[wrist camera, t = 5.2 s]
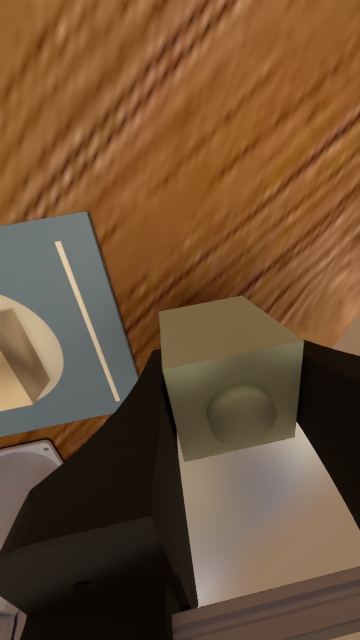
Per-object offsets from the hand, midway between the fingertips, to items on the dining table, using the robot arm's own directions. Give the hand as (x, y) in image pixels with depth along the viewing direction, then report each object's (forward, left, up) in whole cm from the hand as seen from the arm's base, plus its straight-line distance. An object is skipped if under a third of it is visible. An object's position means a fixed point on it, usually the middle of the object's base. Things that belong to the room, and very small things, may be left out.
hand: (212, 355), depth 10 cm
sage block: (0, 0, -2) cm, 2 cm away
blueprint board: (-1, +17, -8) cm, 19 cm away
